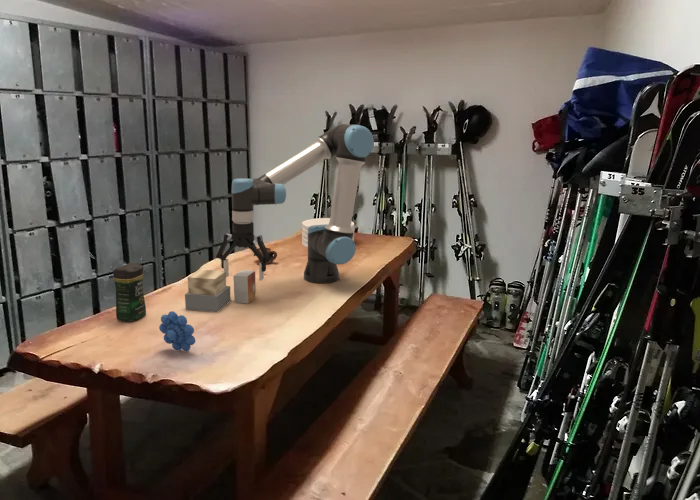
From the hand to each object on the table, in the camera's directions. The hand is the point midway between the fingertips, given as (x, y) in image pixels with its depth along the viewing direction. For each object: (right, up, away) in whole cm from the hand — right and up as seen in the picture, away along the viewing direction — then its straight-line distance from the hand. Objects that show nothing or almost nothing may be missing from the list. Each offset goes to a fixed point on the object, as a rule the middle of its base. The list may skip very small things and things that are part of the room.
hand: (243, 278), depth 200 cm
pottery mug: (0, +4, +52) cm, 53 cm away
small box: (0, -8, +2) cm, 9 cm away
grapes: (-11, -19, -42) cm, 48 cm away
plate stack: (+27, +14, +92) cm, 97 cm away
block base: (-12, -10, -4) cm, 16 cm away
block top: (-12, -4, -5) cm, 14 cm away
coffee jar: (-34, -13, -17) cm, 40 cm away
